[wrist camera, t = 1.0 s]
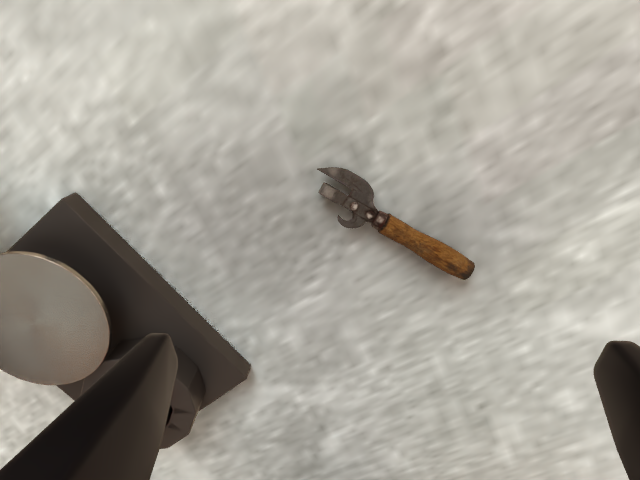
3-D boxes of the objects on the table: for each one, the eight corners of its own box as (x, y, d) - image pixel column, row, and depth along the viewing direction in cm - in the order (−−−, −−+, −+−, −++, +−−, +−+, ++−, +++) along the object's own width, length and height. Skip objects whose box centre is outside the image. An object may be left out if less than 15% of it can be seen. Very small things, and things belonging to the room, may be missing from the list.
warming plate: (111, 393, 23) (108, 396, 22) (-30, 366, 22) (-35, 370, 22) (114, 267, 20) (110, 270, 20) (-46, 237, 20) (-51, 239, 20)
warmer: (251, 365, 25) (240, 402, 22) (145, 437, 28) (123, 479, 25) (76, 191, 22) (37, 209, 19) (-28, 290, 24) (-76, 319, 22)
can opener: (473, 259, 22) (480, 269, 21) (442, 292, 23) (446, 303, 22) (328, 151, 21) (327, 155, 20) (299, 190, 21) (297, 196, 20)
